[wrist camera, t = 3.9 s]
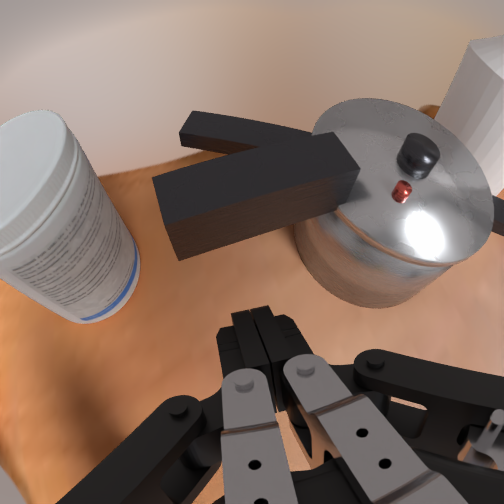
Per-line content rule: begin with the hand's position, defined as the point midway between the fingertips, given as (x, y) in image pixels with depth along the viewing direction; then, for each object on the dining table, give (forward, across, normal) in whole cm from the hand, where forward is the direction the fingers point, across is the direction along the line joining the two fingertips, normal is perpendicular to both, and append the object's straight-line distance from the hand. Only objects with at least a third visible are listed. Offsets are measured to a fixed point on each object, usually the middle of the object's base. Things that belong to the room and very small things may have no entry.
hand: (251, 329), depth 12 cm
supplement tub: (+15, +12, +2) cm, 19 cm away
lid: (+7, -9, -4) cm, 12 cm away
